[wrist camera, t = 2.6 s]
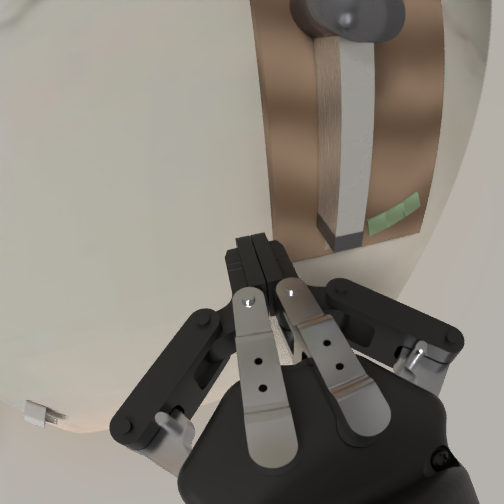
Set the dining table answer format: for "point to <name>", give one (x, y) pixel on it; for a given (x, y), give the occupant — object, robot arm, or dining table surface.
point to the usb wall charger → (37, 414)
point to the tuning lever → (345, 104)
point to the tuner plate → (384, 134)
